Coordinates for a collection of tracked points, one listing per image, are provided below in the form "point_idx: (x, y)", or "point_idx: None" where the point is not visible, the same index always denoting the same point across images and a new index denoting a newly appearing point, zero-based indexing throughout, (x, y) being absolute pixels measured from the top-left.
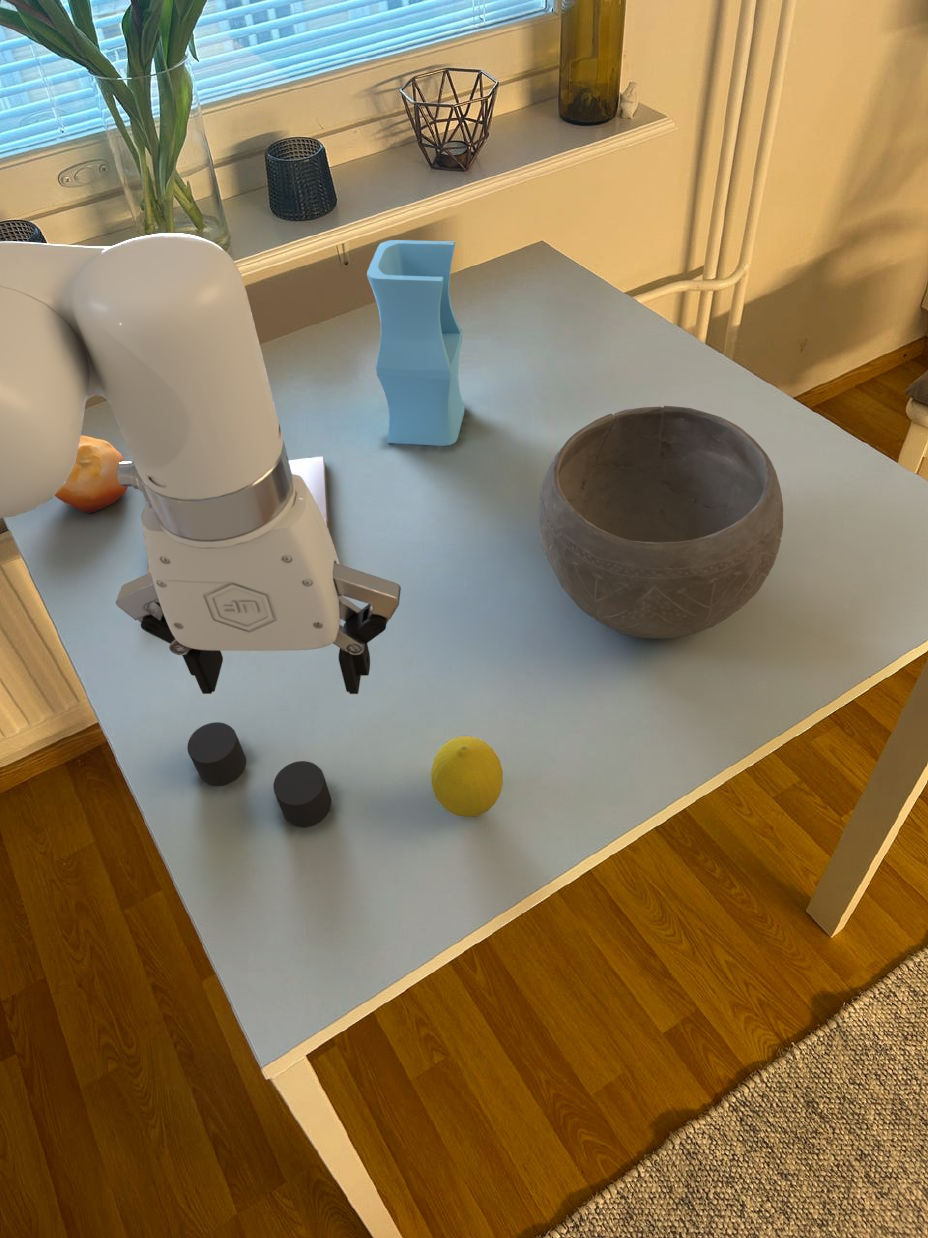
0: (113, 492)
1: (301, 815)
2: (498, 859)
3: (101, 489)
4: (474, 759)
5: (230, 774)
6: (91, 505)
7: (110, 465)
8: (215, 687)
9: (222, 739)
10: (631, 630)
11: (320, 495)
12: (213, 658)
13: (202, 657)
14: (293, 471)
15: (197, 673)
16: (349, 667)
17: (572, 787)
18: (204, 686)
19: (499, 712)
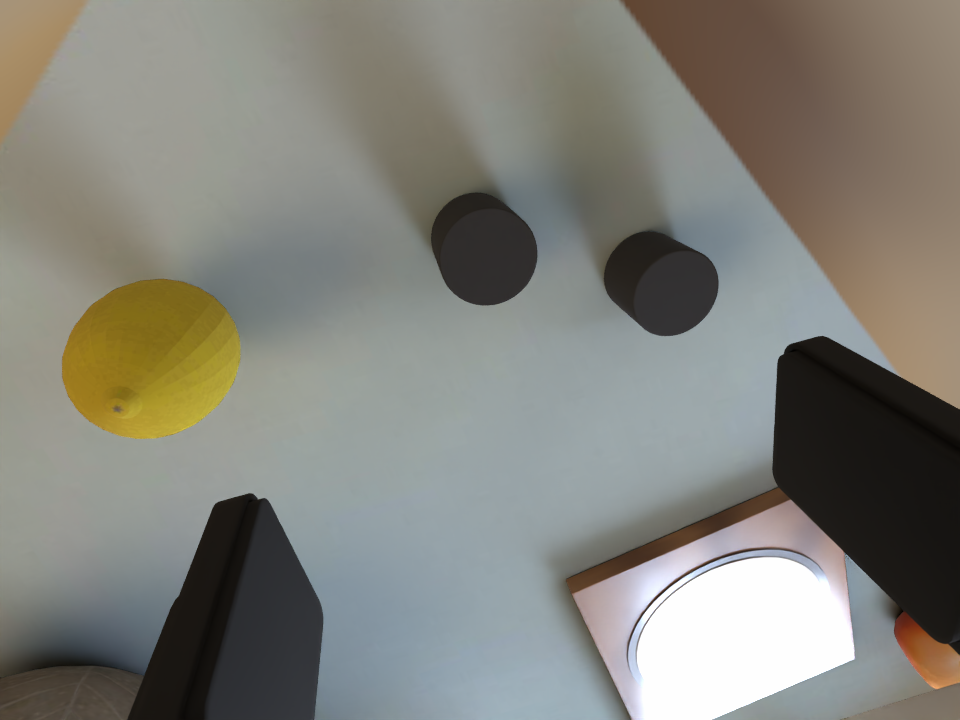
0: (920, 627)
1: (467, 204)
2: (79, 225)
3: None
4: (91, 391)
5: (624, 254)
6: None
7: (945, 670)
8: (778, 373)
9: (659, 305)
10: (4, 698)
11: (631, 701)
12: (838, 482)
13: (946, 489)
14: (678, 718)
15: (923, 403)
16: (162, 662)
17: (24, 395)
18: (840, 360)
19: (224, 484)
